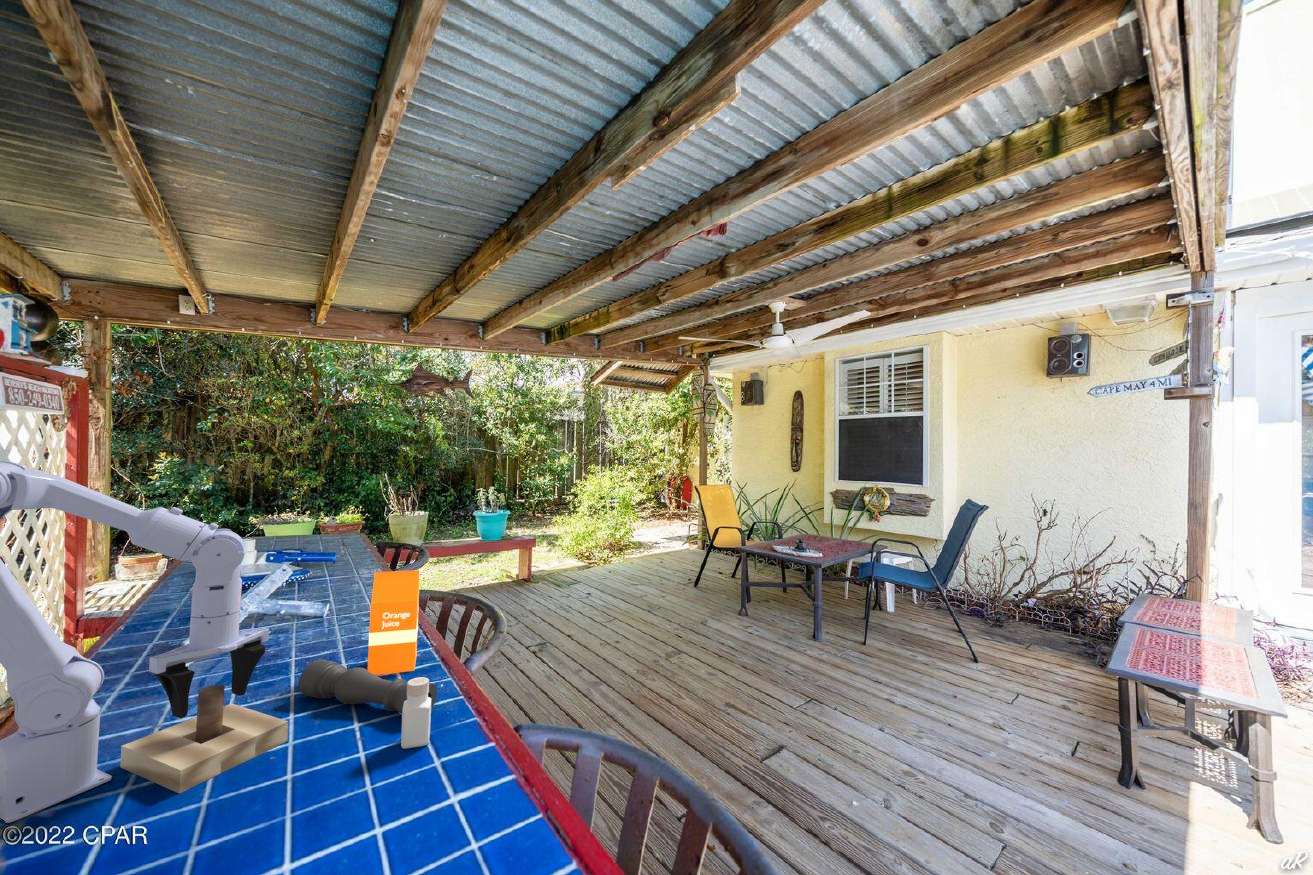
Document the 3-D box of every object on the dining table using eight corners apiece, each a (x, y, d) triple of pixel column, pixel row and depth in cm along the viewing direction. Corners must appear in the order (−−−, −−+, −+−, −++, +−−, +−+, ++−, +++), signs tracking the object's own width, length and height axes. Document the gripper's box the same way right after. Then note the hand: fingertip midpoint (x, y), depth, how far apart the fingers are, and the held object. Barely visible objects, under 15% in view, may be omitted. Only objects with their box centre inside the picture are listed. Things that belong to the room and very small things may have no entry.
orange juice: (414, 670, 110) (418, 574, 110) (366, 676, 107) (371, 576, 107) (416, 656, 117) (420, 566, 118) (371, 661, 114) (376, 568, 114)
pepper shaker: (402, 737, 85) (405, 677, 85) (429, 733, 86) (432, 674, 86) (400, 750, 81) (403, 688, 81) (428, 746, 82) (431, 684, 82)
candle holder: (303, 661, 96) (416, 685, 89) (331, 656, 102) (440, 678, 95) (294, 698, 95) (409, 725, 88) (324, 691, 100) (434, 715, 93)
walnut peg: (202, 761, 77) (206, 695, 77) (189, 756, 78) (193, 690, 78) (225, 750, 79) (229, 686, 80) (213, 746, 80) (216, 683, 81)
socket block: (179, 793, 69) (180, 770, 70) (120, 767, 75) (121, 745, 75) (287, 740, 82) (288, 721, 83) (230, 721, 88) (231, 703, 88)
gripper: (173, 630, 71) (166, 733, 71) (283, 603, 84) (278, 689, 84) (143, 623, 74) (136, 722, 73) (254, 598, 87) (249, 681, 87)
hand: (210, 704), depth 79 cm, fingers open, 7 cm apart
